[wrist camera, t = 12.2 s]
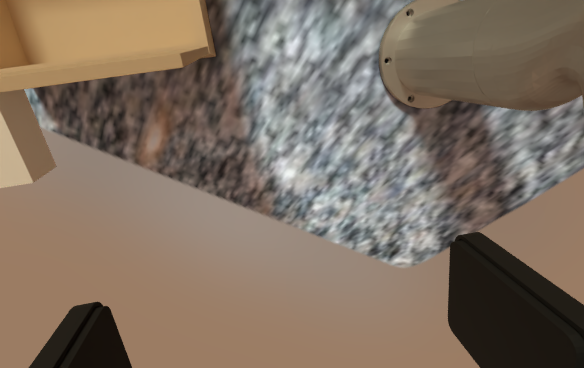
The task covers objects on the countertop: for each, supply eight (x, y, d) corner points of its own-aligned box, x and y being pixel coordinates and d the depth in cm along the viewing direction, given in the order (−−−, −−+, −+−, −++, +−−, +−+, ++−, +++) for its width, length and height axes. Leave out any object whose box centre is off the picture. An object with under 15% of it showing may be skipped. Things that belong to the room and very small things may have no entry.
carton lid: (179, 53, 16) (204, 157, 18) (207, 46, 30) (219, 103, 32) (-323, 120, 14) (-232, 226, 16) (-36, 78, 28) (-7, 136, 30)
